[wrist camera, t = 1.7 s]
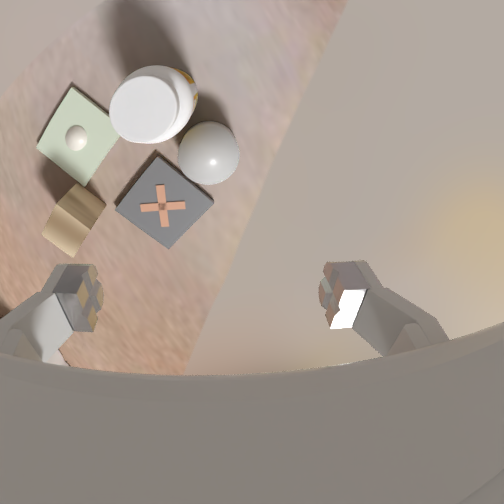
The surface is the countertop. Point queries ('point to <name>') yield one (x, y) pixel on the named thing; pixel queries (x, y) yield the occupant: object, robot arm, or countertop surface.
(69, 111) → the pad
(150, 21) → the countertop surface
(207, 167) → the light grey dome
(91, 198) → the block
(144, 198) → the pad
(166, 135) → the supplement bottle
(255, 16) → the countertop surface
